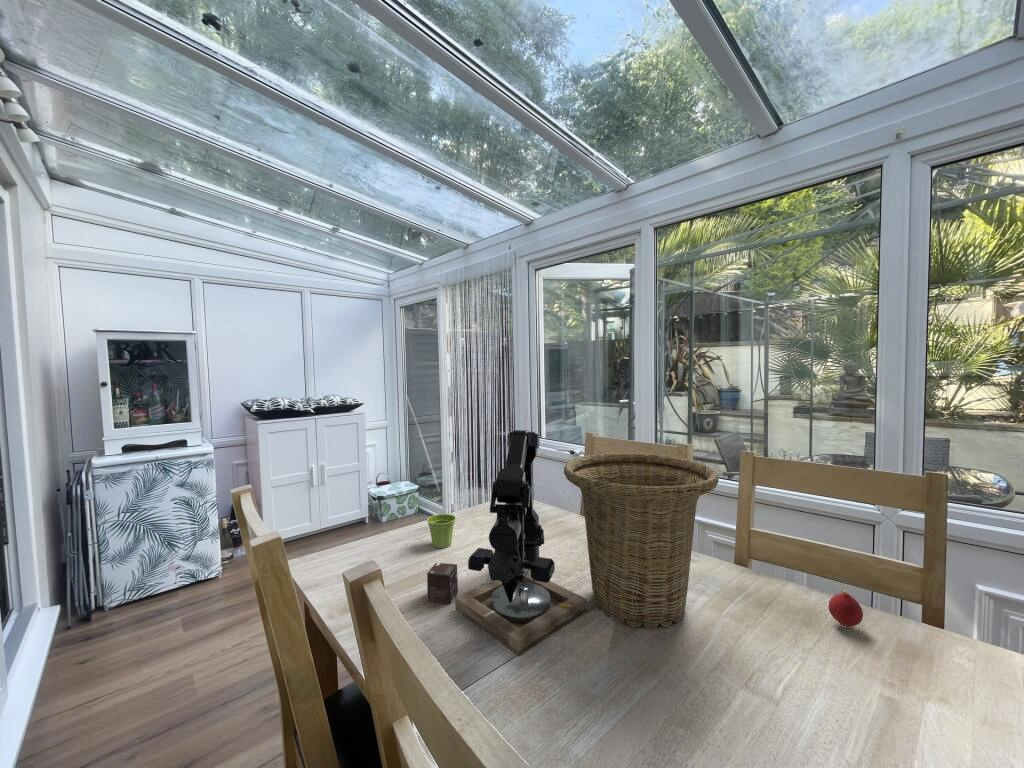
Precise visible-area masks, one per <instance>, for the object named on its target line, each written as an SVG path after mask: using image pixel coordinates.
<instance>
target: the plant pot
mask: <svg viewBox="0 0 1024 768" xmlns="http://www.w3.org/2000/svg"><path fill="white" fill-rule="evenodd" d="M456 520H457V517H456V515H453V514H450V513H449V514H448V513H439V514H433V515H430V516H429V517H427V518H426V522H427V523H428V524H427V525H428V527H429V531H430V537H431V544H432V545H431V546H432V547H433V548H437V549H444V548H448V547H450V546H451V545H452V543H453V542H452V541H453V540H452V539H453V531H454V525H455V521H456Z"/></svg>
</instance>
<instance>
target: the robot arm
mask: <svg viewBox="0 0 1024 768" xmlns="http://www.w3.org/2000/svg"><path fill="white" fill-rule="evenodd" d="M506 444H507V445H506V447H507V448H508V451H507V455H506V461H505V466H504V467H503V468H502V469H501V470H498V472H497V475H496V478H495V480H494V481H493V482H492V486H491V487H492V488H491V496H490V497H491V498H490V506H489V513H490V514H496V520H495V522H494V524H493V526H492V527H491V529H490V532H489V534H488V540H489V541H488V542H489V544H490V546H491V547H492V548H493V549H494V551H493V549H489V548H481V547H478V548H476V550H475V551H474V552H473V553H472V554H471V555H470V556H469V557H468V560H467V568H468V570H470V571H475V572H481V571H482V570H484V568H485V565H487V568H488V574H489V579H490V580H491V581H493V580H494V581H495V580H498V581H501V583H502V585H503V587H504V590H505V592H506V595H507V598H508V600H509V602H511V603H512V601H513V599H514V596H515V593H516V590H517V587H518V585H519V582H520V581H523V580H524V578H525V577H526V575H527V573H528V572H529V571H530V572H531V577H532V579H533V580H534V581H539V582H545V583H546V582H549V581H551V579H552V577H553V575H554V573H555V569H556V567H555V566H556V564H555V561H554V560H553V559H552V558H548V557H542V556H540V547H542V545H545V532H544V531H545V530H544V529H543V526H542V524H540V516H539V515H538V513H537V512H536V510H535V508H534V488H533V487H534V486H533V485H534V483H533V481H534V480H533V477H534V476H533V462H534V460H535V459H536V457H537V452H538V449H540V435H539V433H537V432H536V431H528V430H525V429H524V430H521V429H520V430H516V429H515V430H511V431H509V432H508V433H507V439H506ZM496 502H497V504H496Z"/></svg>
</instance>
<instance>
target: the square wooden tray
mask: <svg viewBox="0 0 1024 768" xmlns="http://www.w3.org/2000/svg"><path fill="white" fill-rule="evenodd" d="M520 582H528V583H533V584H537V585H539V586H541V587H543V588H545V589H546V590H547V591H548V592H549V594H550V597H551V608H550V610H549V611H548V612H546V613H544V614H543V615H541V616H539V617H538V618H536V619H534V620H532V621H531V622H529V623H523V624H518V623H511V622H509V621H508V620H506V619H505V618H503V617H501V616H500V615H498V614H497V613H495V611H492V609H491V596H492V593H493V592H494V591H495V590H496V589H497V588H499V587H501V586H503V585H502V583H501V581H498V580H495V581H494V580H491V581H489V582H486V583H484V584H482V585H480V586H477V587H475V588H474V589H471V590H468V591H467V592H465V593H462V594H461V595H458V596H455V597H454V599H455V600H454V601H455V604H454V605H455V611H456V612H458V613H459V614H460V615H462V616H463V617H465V618H466V619H467V620H469V621H470V622H471V623H473V624H474V625H475V626H477V627H478V628H480V629H481V630H482V631H484V632H485V633H486V634H488V635H489V636H490V637H492V638H493V639H495V640H496V641H497V642H498V643H500V644H501V645H503V646H504V647H506V648H507V649H508V650H510V651H511V652H512V653H514V654H515V655H517V656H518V657H520V656H521V655H523V654H525V653H526V652H528V651H529V650H531V649H533V648H534V647H535V646H537V645H538V644H541V643H542V642H543V641H544V640H546V639H548V638H549V637H551V636H553V635H554V634H556V633H557V632H559V631H560V630H562V629H564V628H565V627H566V626H567V625H569V624H571V623H573V622H574V621H575V620H577V619H579V618H580V617H582V616H583V615H585V614H587V612H588V598H587V597H586V598H585V597H584V596H582V595H579V594H578V593H576V592H573V591H571V590H570V589H567V588H566V587H563V586H561V585H559V584H557V583H556V582H554V581H552V580H550V581H549V582H546V583H545V582H539V581H534V580H533V579H532V577H531V572H530V571H529V572H528V573H527V575H526V577H525V578H524V580H523V581H520Z"/></svg>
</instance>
